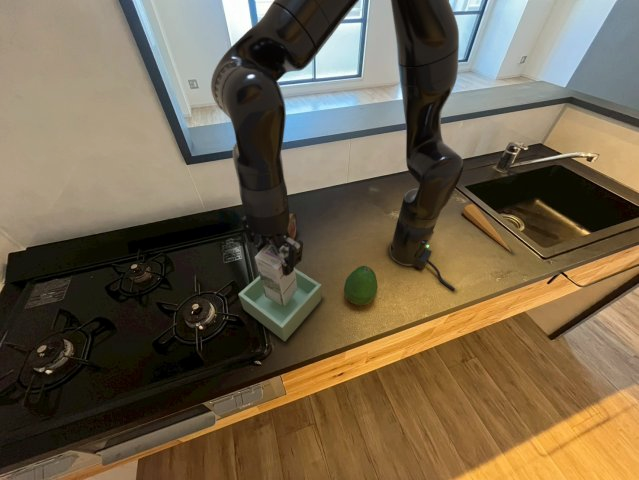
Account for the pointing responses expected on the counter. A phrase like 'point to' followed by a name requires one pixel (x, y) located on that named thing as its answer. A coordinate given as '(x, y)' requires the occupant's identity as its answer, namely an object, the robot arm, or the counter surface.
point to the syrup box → (275, 277)
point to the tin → (292, 226)
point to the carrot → (482, 223)
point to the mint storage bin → (276, 315)
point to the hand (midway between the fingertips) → (276, 265)
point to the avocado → (361, 286)
